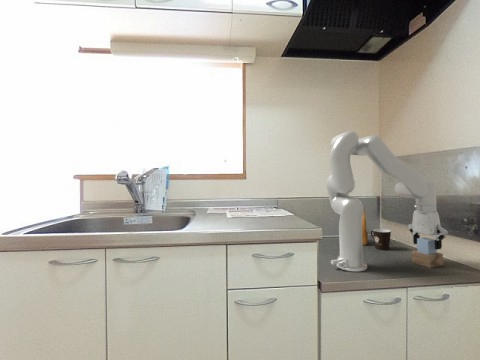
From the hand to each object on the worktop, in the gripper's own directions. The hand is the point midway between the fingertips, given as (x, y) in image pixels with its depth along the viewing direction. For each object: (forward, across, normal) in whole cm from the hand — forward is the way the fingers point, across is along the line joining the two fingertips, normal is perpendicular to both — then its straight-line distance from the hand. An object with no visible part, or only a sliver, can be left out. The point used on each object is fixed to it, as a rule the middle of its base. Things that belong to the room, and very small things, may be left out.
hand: (426, 246), depth 117 cm
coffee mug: (+8, -27, +2) cm, 28 cm away
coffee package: (+8, -40, -3) cm, 41 cm away
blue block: (+3, 0, 0) cm, 3 cm away
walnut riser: (+8, 0, 0) cm, 8 cm away
